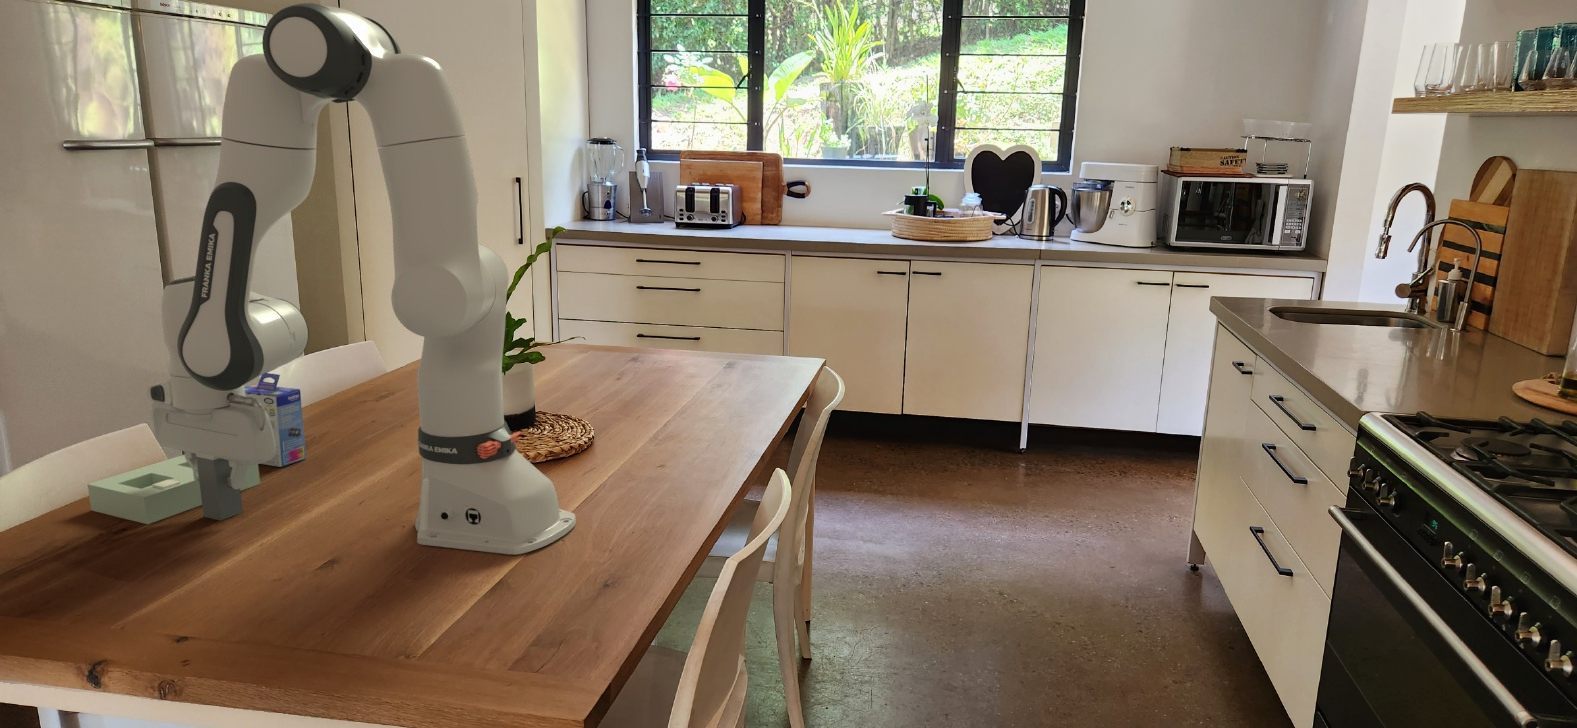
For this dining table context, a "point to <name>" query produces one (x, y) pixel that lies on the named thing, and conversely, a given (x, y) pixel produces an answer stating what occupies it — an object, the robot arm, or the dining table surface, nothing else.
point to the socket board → (153, 491)
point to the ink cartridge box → (281, 419)
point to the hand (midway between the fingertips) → (219, 483)
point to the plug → (217, 488)
